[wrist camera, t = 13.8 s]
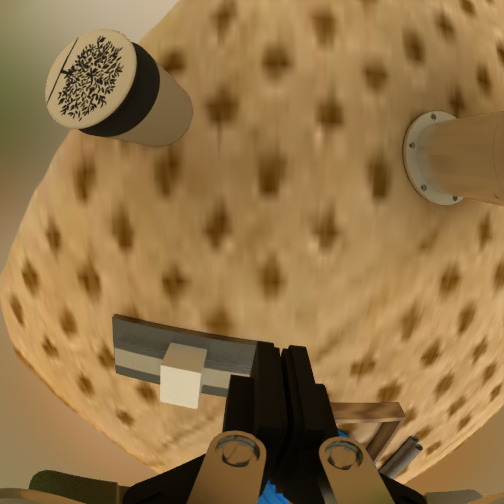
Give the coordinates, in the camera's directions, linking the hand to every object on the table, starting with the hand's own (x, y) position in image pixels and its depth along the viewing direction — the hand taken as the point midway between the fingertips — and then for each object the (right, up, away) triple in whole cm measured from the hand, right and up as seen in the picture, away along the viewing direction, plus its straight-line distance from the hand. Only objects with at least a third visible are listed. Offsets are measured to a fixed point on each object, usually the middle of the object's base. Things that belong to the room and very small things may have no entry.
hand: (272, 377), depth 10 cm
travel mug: (-12, +21, +23) cm, 33 cm away
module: (-10, -11, +30) cm, 33 cm away
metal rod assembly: (+27, -44, +40) cm, 66 cm away
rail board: (-10, -11, +31) cm, 34 cm away
